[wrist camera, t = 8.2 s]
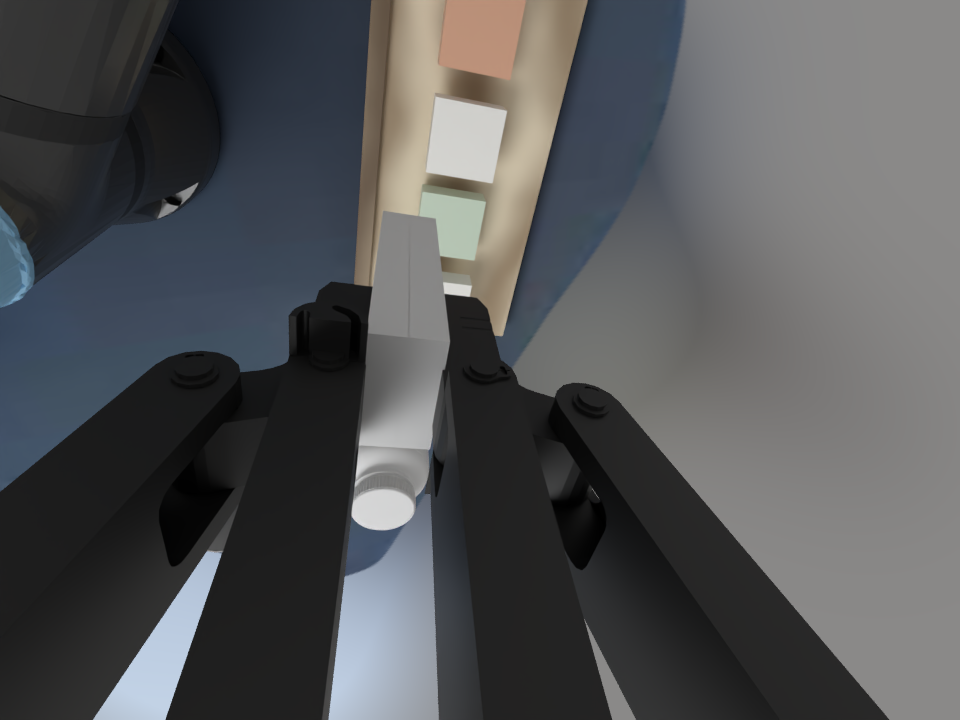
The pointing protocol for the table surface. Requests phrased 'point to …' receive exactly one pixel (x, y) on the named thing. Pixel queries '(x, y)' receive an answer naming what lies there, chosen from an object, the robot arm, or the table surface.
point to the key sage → (454, 219)
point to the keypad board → (406, 125)
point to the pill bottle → (388, 485)
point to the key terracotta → (481, 36)
